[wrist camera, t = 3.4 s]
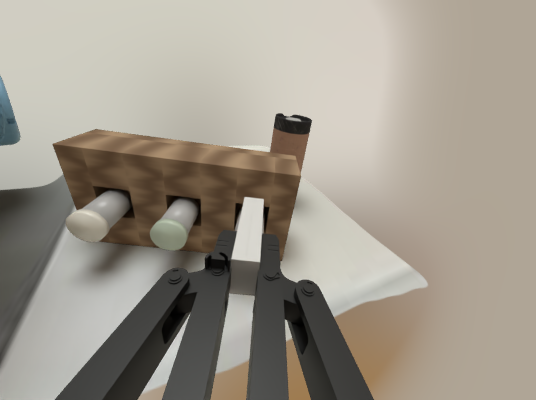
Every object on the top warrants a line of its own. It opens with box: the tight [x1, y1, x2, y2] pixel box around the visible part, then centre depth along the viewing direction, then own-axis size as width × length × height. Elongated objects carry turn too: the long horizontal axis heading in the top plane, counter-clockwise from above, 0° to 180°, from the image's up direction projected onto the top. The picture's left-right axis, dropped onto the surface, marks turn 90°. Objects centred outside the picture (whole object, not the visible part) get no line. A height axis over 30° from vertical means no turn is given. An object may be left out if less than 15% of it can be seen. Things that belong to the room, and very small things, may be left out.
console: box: [53, 129, 301, 261], centre depth 36 cm, size 32×8×16 cm, turn 89°
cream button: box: [66, 188, 133, 242], centre depth 30 cm, size 4×7×4 cm, turn 179°
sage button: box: [150, 197, 200, 251], centre depth 31 cm, size 4×7×4 cm, turn 179°
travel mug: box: [270, 113, 312, 174], centre depth 50 cm, size 8×8×20 cm
